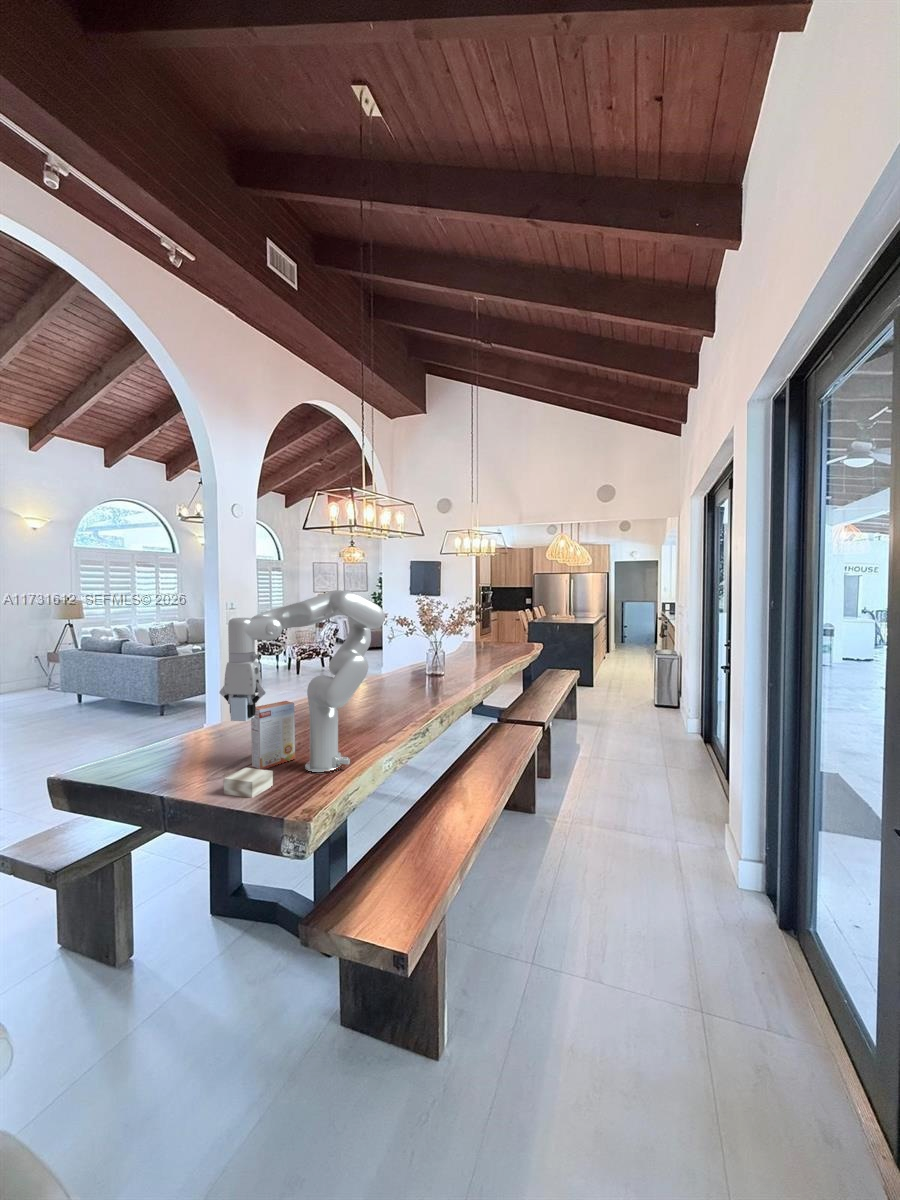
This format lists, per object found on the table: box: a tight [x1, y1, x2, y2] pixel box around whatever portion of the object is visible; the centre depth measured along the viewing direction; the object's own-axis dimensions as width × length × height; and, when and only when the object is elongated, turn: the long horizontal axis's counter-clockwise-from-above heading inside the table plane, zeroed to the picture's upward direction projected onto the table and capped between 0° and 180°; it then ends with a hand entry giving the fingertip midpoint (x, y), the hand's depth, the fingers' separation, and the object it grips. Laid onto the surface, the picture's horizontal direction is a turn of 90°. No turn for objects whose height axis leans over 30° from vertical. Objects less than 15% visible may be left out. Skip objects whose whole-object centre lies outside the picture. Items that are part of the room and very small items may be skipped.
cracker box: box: [250, 700, 296, 770], centre depth 188 cm, size 14×6×21 cm, turn 141°
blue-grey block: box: [229, 695, 254, 722], centre depth 166 cm, size 5×5×7 cm
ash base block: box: [223, 767, 274, 799], centre depth 164 cm, size 10×10×5 cm
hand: (242, 715), depth 166 cm, fingers closed on blue-grey block, 5 cm apart
